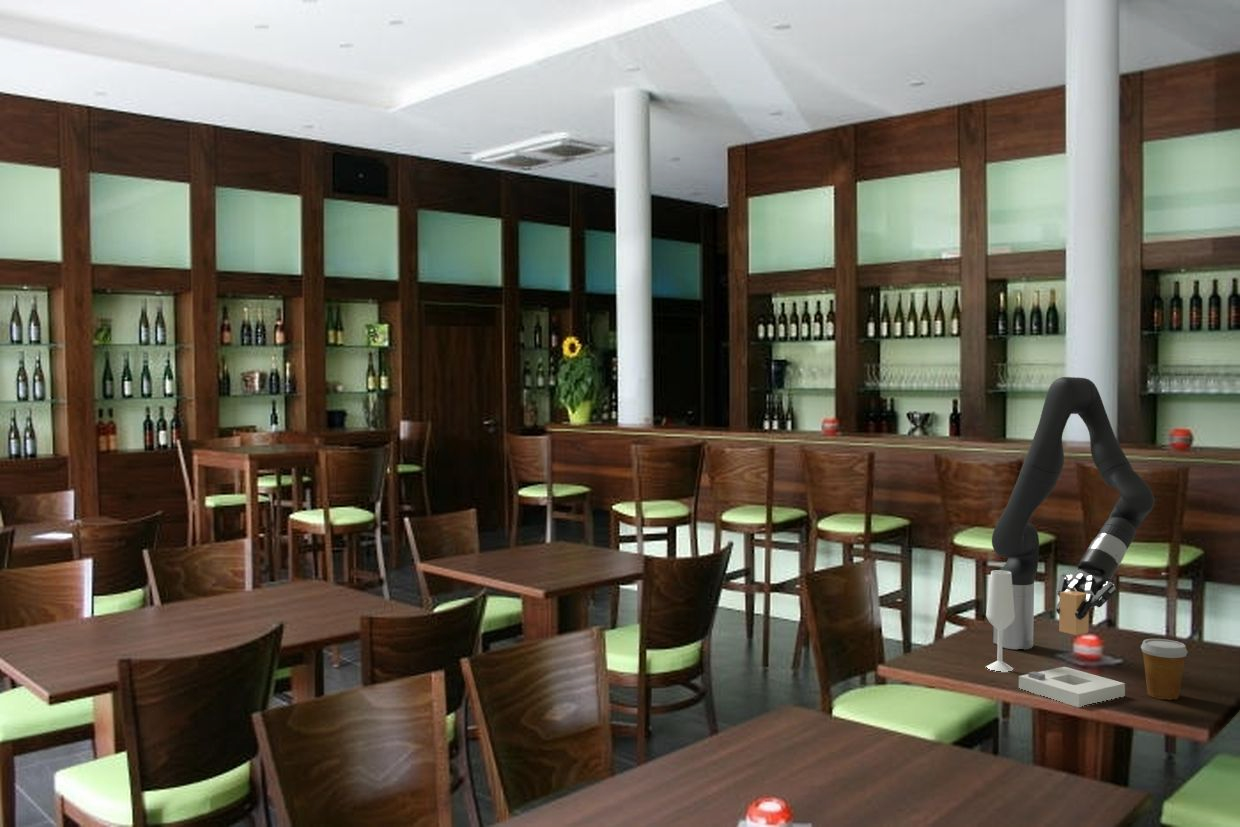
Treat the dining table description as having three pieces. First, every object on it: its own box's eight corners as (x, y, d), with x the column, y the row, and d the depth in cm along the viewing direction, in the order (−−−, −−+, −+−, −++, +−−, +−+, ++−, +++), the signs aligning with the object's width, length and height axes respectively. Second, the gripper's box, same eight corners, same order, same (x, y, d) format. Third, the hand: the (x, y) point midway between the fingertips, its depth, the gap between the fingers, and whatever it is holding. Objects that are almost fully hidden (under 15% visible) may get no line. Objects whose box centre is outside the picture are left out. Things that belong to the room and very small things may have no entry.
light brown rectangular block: (1059, 631, 248) (1059, 592, 248) (1071, 628, 250) (1072, 590, 250) (1075, 635, 244) (1076, 595, 244) (1088, 632, 247) (1088, 593, 246)
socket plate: (1018, 688, 251) (1018, 671, 251) (1064, 678, 259) (1064, 662, 259) (1078, 707, 237) (1078, 689, 237) (1124, 696, 245) (1125, 679, 245)
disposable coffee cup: (1190, 704, 239) (1191, 650, 239) (1142, 699, 243) (1143, 646, 242) (1182, 691, 248) (1184, 640, 248) (1137, 688, 252) (1138, 636, 251)
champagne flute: (1016, 672, 264) (1018, 575, 263) (987, 671, 265) (989, 574, 264) (1011, 665, 271) (1012, 570, 270) (983, 664, 272) (984, 569, 271)
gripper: (1069, 543, 256) (1034, 599, 251) (1123, 551, 244) (1088, 611, 239) (1083, 563, 259) (1049, 619, 254) (1138, 572, 247) (1103, 632, 241)
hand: (1068, 615), depth 246 cm, fingers closed on light brown rectangular block, 4 cm apart
